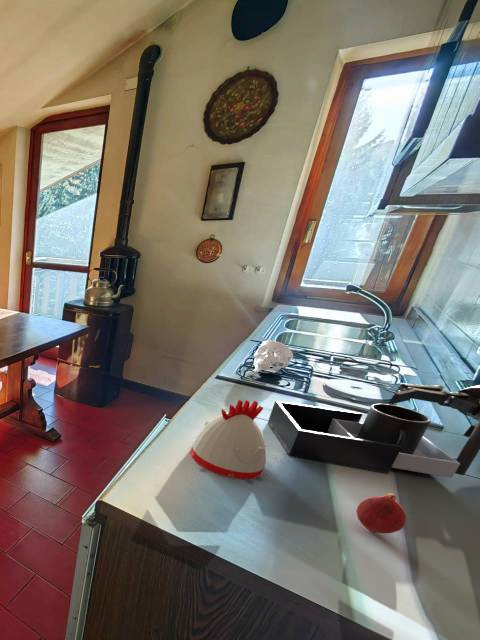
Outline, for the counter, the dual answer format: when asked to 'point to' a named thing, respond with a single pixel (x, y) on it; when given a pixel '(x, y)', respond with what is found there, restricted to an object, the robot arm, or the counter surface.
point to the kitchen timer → (232, 443)
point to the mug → (394, 426)
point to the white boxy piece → (422, 452)
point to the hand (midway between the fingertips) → (429, 413)
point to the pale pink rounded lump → (272, 356)
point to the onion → (381, 514)
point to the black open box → (327, 438)
